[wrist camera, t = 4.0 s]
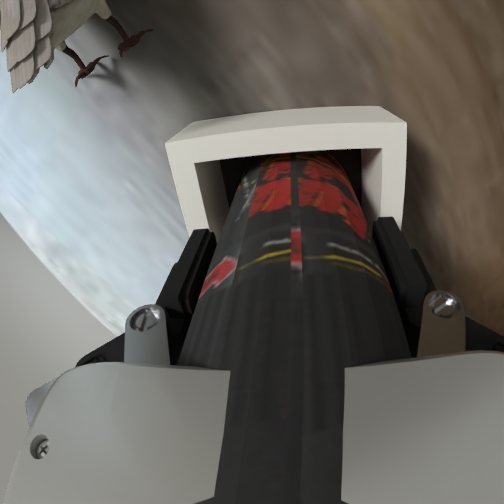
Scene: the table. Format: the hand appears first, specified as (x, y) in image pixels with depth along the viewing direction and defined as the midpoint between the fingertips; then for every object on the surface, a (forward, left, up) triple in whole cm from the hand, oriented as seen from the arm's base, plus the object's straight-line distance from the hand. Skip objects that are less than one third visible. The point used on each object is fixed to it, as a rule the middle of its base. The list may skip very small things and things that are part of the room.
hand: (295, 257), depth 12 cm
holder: (0, 0, -6) cm, 6 cm away
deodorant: (0, 0, -6) cm, 6 cm away
